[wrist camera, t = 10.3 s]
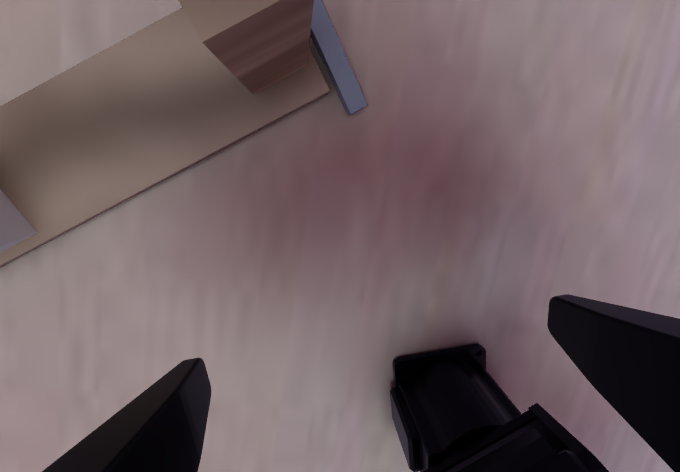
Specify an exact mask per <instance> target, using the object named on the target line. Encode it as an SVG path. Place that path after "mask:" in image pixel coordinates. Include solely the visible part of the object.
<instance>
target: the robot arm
mask: <svg viewBox="0 0 680 472" xmlns="http://www.w3.org/2000/svg"><path fill="white" fill-rule="evenodd" d="M548 329H549V331H550V333H551V335H552V336H553V337H554V339H555V340H556V341H557V342H558V344H559V345H560V346H561V347H562V349H563V350H564V351H565V352H566V354H567V355H568V356H569V357H570V359H571V360H572V361H573V362H574V364H575V365H576V366H577V367H578V368H579V370H580V371H581V372H582V373H583V375H584V376H585V377H586V378H587V380H588V381H589V382H590V383H591V384H592V385H593V386H594V388H595V389H596V390H597V391H598V392H599V393H600V394H601V395H602V396H603V397H604V398H605V399H606V400H607V401H608V402H609V403H610V405H611V406H612V407H613V408H614V409H615V410H616V411H617V412H618V413H619V414H620V415H621V416H622V417H623V418H624V419H625V420H626V421H627V422H628V423H629V424H630V426H631V427H632V428H633V429H634V430H635V431H636V432H637V433H638V434H639V435H640V436H641V437H642V438H643V439H644V440H645V441H646V442H647V443H648V444H649V445H650V447H651V448H652V449H653V450H654V451H655V452H656V453H657V454H658V455H659V456H660V457H661V458H662V459H663V460H664V461H665V462H666V463H667V464H668V465H669V466H670V468H671V469H672V470H673V471H674V472H680V319H678V318H673V317H669V316H664V315H660V314H655V313H651V312H646V311H641V310H637V309H632V308H628V307H623V306H619V305H614V304H609V303H605V302H600V301H596V300H591V299H587V298H582V297H577V296H573V295H560V296H555V297H552V298H551V299H550V302H549V312H548ZM478 350H479V351H478ZM476 351H478V352H477V353H476ZM400 364H403V365H402V366H401V367H398V366H399V365H400ZM393 372H394V384H395V387H394V388H392V389H391V391H390V395H391V406H392V418H393V421H394V424H395V427H396V430H397V433H398V436H399V439H400V442H401V445H402V448H403V451H404V454H405V457H406V460H407V463H408V466H409V469H411V470H412V471H413V472H417V471H420V472H609V471H608V470H607V469H606V468H605V467H604V466H603V464H602V463H601V462H600V461H599V460H598V459H597V458H596V457H595V456H594V455H593V454H592V453H591V452H590V451H589V450H588V449H587V448H586V447H585V446H584V445H582V444H581V443H580V442H579V441H578V440H577V439H576V438H575V437H574V436H573V435H572V434H570V433H569V432H568V431H567V430H566V429H565V428H564V427H563V426H562V425H561V424H559V423H558V422H557V421H556V420H555V419H554V418H553V417H552V416H551V415H550V414H549V413H547V412H546V411H545V410H544V409H543V408H542V407H541V406H540V405H539V404H538V403H536V404H534V405H532V406H531V407H529V408H528V409H529V410H528V411H526V412H524V413H523V414H521V412H520V411H519V410H518V409H517V408H516V406H515V405H514V404H513V403H512V401H511V400H510V399H509V398H508V397H507V395H506V394H505V393H504V392H503V390H502V389H501V388H500V387H499V386H498V384H497V383H496V382H495V381H494V379H493V378H492V377H491V376H490V375H489V373H488V372H487V371H486V351H485V349H484V348H483V347H482V345H480V344H471V345H466V346H460V347H455V348H449V349H443V350H438V351H432V352H427V353H421V354H415V355H410V356H404V357H399V358H397V359H395V360H394V362H393ZM210 398H211V385H210V382H209V378H208V374H207V371H206V367H205V364H204V361H203V360H202V359H201V358H194V359H188V360H184V361H182V362H181V363H180V364H178V365H177V366H176V367H175V368H173V369H172V370H171V371H169V372H168V373H167V374H166V375H164V376H163V377H162V378H161V379H159V380H158V381H157V382H155V383H154V384H153V385H152V386H150V387H149V388H148V389H147V390H145V391H144V392H143V393H141V394H140V395H139V396H138V397H136V398H135V399H134V400H133V401H131V402H130V403H129V404H127V405H126V406H125V407H124V408H122V409H121V410H120V411H119V412H117V413H116V414H115V415H113V416H112V417H111V418H110V419H108V420H107V421H106V422H105V423H103V424H102V425H101V426H99V427H98V428H97V429H96V430H94V431H93V432H92V433H91V434H89V435H88V436H87V437H85V438H84V439H83V440H82V441H80V442H79V443H78V444H77V445H75V446H74V447H73V448H71V449H70V450H69V451H68V452H66V453H65V454H64V455H63V456H61V457H60V458H59V459H57V460H56V461H55V462H54V463H52V464H51V465H50V466H49V467H47V468H46V469H45V470H43V471H42V472H198V467H199V463H200V459H201V454H202V448H203V442H204V436H205V429H206V423H207V417H208V411H209V405H210Z"/></svg>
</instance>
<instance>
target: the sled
mask: <svg viewBox="0 0 680 472" xmlns="http://www.w3.org/2000/svg"><path fill="white" fill-rule="evenodd" d="M179 2H180V4H181V6H182V7H183V8H181V9H179V10H177V11H175V12H173V13H172V14H170V15H168V16H166V17H164V18H162V19H161V20H159V21H157V22H155V23H153V24H151V25H149V26H148V27H146V28H144V29H142V30H140V31H138V32H137V33H135V34H133V35H131V36H129V37H127V38H126V39H124V40H122V41H120V42H118V43H116V44H114V45H113V46H111V47H109V48H107V49H105V50H103V51H102V52H100V53H98V54H96V55H94V56H92V57H90V58H89V59H87V60H85V61H83V62H81V63H79V64H78V65H76V66H74V67H72V68H70V69H68V70H67V71H65V72H63V73H61V74H59V75H57V76H55V77H54V78H52V79H50V80H48V81H46V82H44V83H43V84H41V85H39V86H37V87H35V88H33V89H32V90H30V91H28V92H26V93H24V94H22V95H20V96H19V97H17V98H15V99H13V100H11V101H9V102H8V103H6V104H4V105H2V106H0V189H1V191H2V192H3V193H4V194H5V195H6V196H7V198H8V199H9V200H10V201H11V202H12V204H13V205H14V206H15V207H16V208H17V210H18V211H19V212H20V213H21V214H22V215H23V217H24V218H25V219H26V220H27V221H28V223H29V224H30V225H31V226H32V227H33V228H34V230H35V231H36V232H37V234H35V235H33V236H31V237H29V238H27V239H26V240H24V241H22V242H20V243H18V244H16V245H14V246H12V247H11V248H9V249H7V250H5V251H3V252H1V253H0V267H2V266H4V265H5V264H7V263H9V262H11V261H13V260H15V259H17V258H19V257H21V256H22V255H24V254H26V253H28V252H30V251H32V250H34V249H36V248H38V247H39V246H41V245H43V244H45V243H47V242H49V241H51V240H53V239H54V238H56V237H58V236H60V235H62V234H64V233H66V232H68V231H70V230H71V229H73V228H75V227H77V226H79V225H81V224H83V223H85V222H87V221H88V220H90V219H92V218H94V217H96V216H98V215H100V214H102V213H103V212H105V211H107V210H109V209H111V208H113V207H115V206H117V205H119V204H120V203H122V202H124V201H126V200H128V199H130V198H132V197H134V196H136V195H137V194H139V193H141V192H143V191H145V190H147V189H149V188H151V187H153V186H154V185H156V184H158V183H160V182H162V181H164V180H166V179H168V178H169V177H171V176H173V175H175V174H177V173H179V172H181V171H183V170H185V169H186V168H188V167H190V166H192V165H194V164H196V163H198V162H200V161H202V160H203V159H205V158H207V157H209V156H211V155H213V154H215V153H217V152H218V151H220V150H222V149H224V148H226V147H228V146H230V145H232V144H234V143H235V142H237V141H239V140H241V139H243V138H245V137H247V136H249V135H251V134H252V133H254V132H256V131H258V130H260V129H262V128H264V127H266V126H268V125H269V124H271V123H273V122H275V121H277V120H279V119H281V118H283V117H284V116H286V115H288V114H290V113H292V112H294V111H296V110H298V109H300V108H301V107H303V106H305V105H307V104H309V103H311V102H313V101H315V100H317V99H318V98H320V97H322V96H324V95H326V94H328V93H329V91H330V90H329V88H328V86H327V83H326V81H325V79H324V77H323V75H322V73H321V71H320V68H319V66H318V64H317V62H316V60H315V58H314V56H313V53H312V51H311V49H310V47H309V41H310V31H311V22H312V12H313V3H314V0H179Z"/></svg>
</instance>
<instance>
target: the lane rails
mask: <svg viewBox="0 0 680 472" xmlns="http://www.w3.org/2000/svg"><path fill="white" fill-rule="evenodd" d="M310 34H311V36H312V38H313V40H314V43H315V45H316V47H317V49H318V51H319V53H320V56H321V58H322V60H323V62H324V64H325V66H326V69H327V71H328V73H329V75H330V77H331V79H332V82H333V84H334V86H335V88H336V90H337V92H338V95H339V97H340V99H341V101H342V103H343V105H344V108H345V110H346V112H347V114H348V115H350V114H352V113H354V112H356V111H358V110H360V109H362V108H364V107H365V106H367V105H368V104H367V102H366V100H365V97H364V95H363V93H362V90H361V88H360V86H359V84H358V81H357V79H356V77H355V75H354V72H353V70H352V68H351V65H350V63H349V61H348V59H347V56H346V54H345V52H344V49H343V47H342V45H341V43H340V40H339V38H338V36H337V33H336V31H335V29H334V27H333V24H332V22H331V20H330V17H329V15H328V13H327V11H326V8H325V6H324V4H323V2H322V0H314V3H313V12H312V22H311V31H310Z"/></svg>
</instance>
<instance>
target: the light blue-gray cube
mask: <svg viewBox="0 0 680 472" xmlns="http://www.w3.org/2000/svg"><path fill="white" fill-rule="evenodd" d="M35 234H37V232H36V231H35V230H34V228H33V227H32V226H31V225H30V224H29V223H28V221H27V220H26V219H25V218H24V217H23V215H22V214H21V213H20V212H19V211H18V210H17V208H16V207H15V206H14V205H13V204H12V202H11V201H10V200H9V199H8V198H7V196H6V195H5V194H4V193H3V192H2V191H1V189H0V253H1V252H3V251H5V250H7V249H9V248H11V247H12V246H14V245H16V244H18V243H20V242H22V241H24V240H26V239H27V238H29V237H31V236H33V235H35Z"/></svg>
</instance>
